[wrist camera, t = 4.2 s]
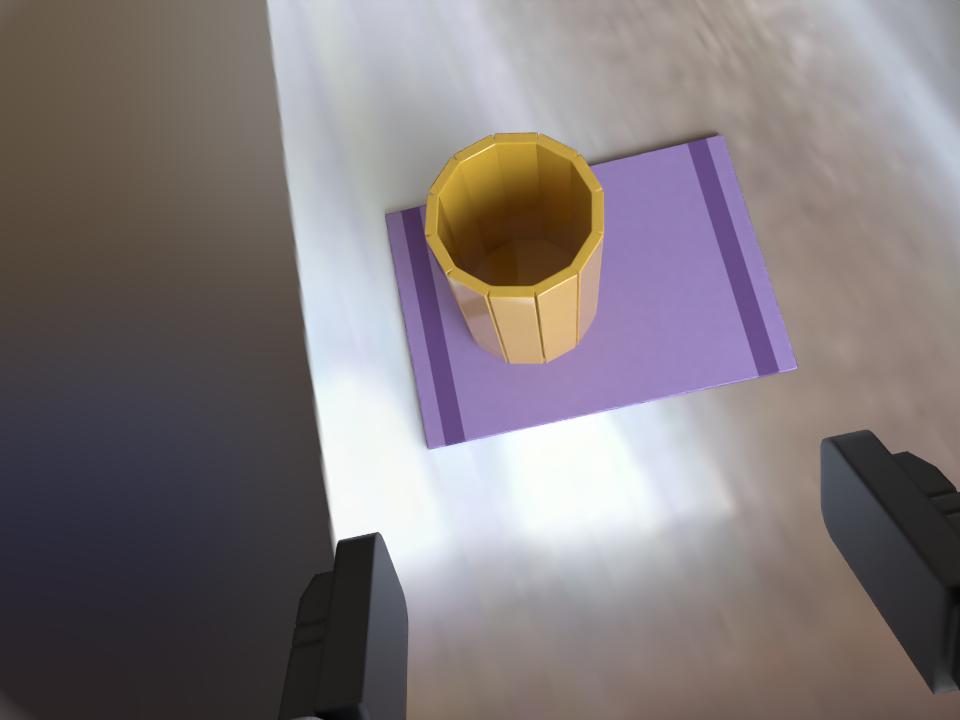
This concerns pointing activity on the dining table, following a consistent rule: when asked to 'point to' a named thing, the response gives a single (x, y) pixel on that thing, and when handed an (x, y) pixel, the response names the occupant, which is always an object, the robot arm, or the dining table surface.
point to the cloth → (611, 306)
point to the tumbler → (519, 244)
